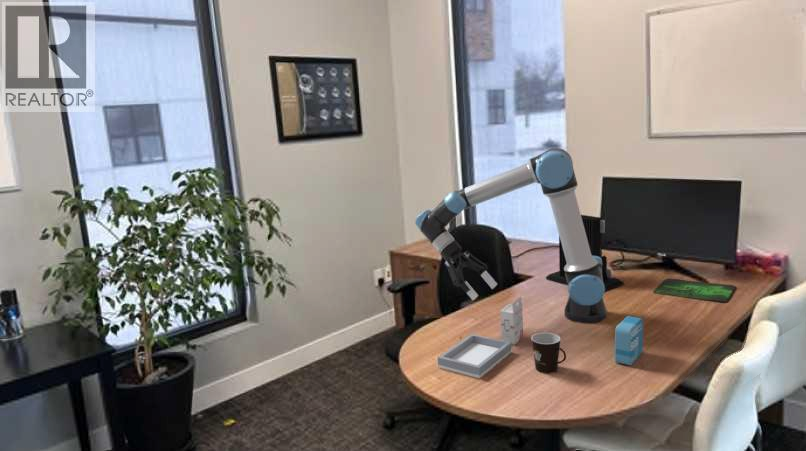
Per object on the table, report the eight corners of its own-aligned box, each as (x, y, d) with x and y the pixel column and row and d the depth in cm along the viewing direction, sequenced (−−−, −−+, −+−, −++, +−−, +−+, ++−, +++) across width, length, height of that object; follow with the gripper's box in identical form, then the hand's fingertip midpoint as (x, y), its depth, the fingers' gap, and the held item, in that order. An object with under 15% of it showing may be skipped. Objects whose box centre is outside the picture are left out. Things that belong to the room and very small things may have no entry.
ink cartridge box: (510, 333, 203) (508, 294, 200) (523, 335, 201) (522, 295, 198) (501, 342, 196) (499, 302, 193) (514, 345, 194) (513, 304, 191)
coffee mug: (528, 363, 179) (527, 334, 177) (555, 361, 180) (554, 331, 178) (540, 381, 168) (539, 349, 166) (568, 378, 169) (568, 346, 167)
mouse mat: (651, 294, 233) (651, 291, 233) (665, 279, 250) (665, 276, 250) (727, 304, 216) (727, 302, 216) (736, 287, 233) (736, 285, 233)
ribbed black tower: (627, 284, 246) (627, 215, 240) (599, 294, 236) (599, 223, 230) (570, 270, 271) (569, 208, 265) (543, 279, 261) (541, 214, 255)
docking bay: (511, 352, 188) (511, 342, 188) (479, 378, 172) (479, 367, 172) (472, 343, 198) (471, 333, 197) (438, 367, 181) (437, 357, 181)
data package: (629, 367, 173) (630, 330, 170) (614, 363, 176) (614, 327, 173) (642, 352, 182) (643, 317, 179) (628, 349, 184) (628, 314, 182)
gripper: (459, 245, 219) (496, 288, 213) (421, 261, 200) (460, 309, 194) (471, 232, 214) (508, 276, 208) (433, 248, 195) (473, 296, 189)
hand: (485, 292), depth 201 cm, fingers open, 13 cm apart
